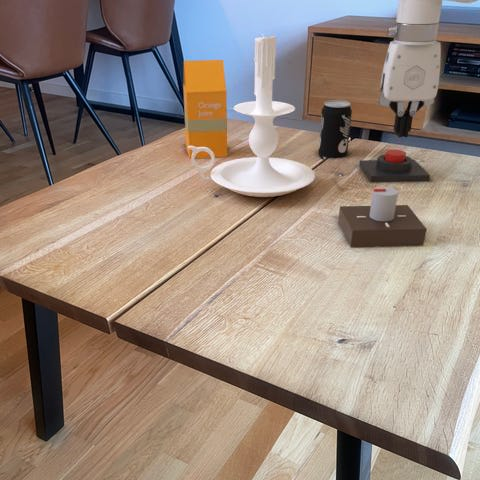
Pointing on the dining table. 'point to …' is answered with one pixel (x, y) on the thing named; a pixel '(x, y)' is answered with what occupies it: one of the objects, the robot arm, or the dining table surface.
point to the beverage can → (334, 129)
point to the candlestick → (260, 140)
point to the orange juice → (205, 107)
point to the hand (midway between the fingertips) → (401, 135)
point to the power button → (395, 156)
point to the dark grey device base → (393, 170)
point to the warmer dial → (383, 203)
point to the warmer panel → (381, 228)
